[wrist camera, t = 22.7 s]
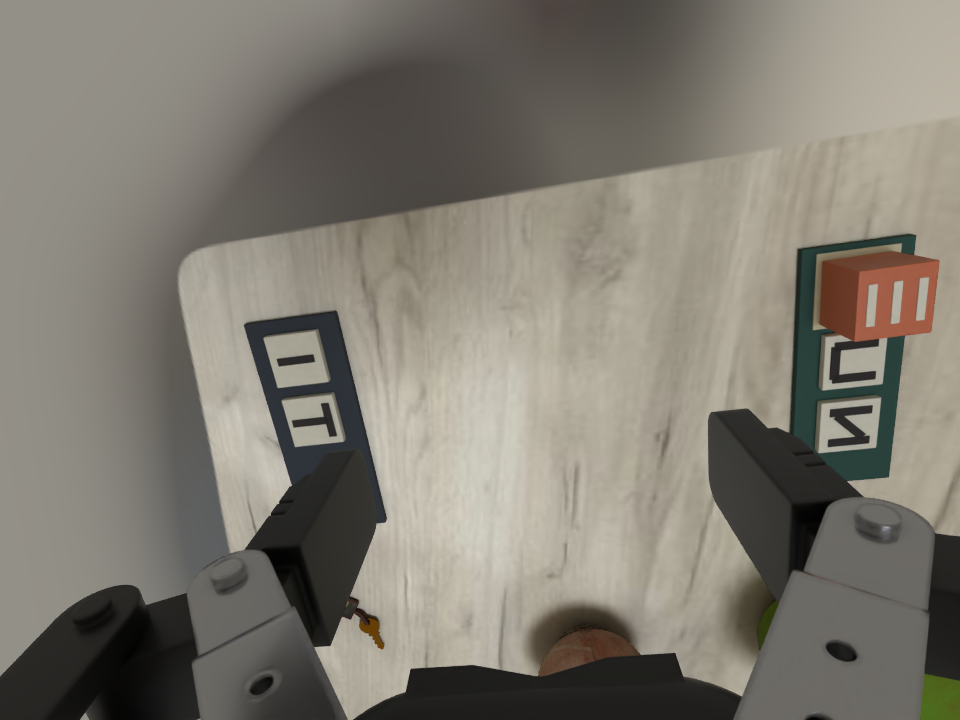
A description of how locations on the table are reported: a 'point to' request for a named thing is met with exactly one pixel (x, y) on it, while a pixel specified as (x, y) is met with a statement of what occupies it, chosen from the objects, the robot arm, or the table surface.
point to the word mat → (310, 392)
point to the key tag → (363, 621)
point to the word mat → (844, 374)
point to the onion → (584, 649)
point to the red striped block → (878, 295)
